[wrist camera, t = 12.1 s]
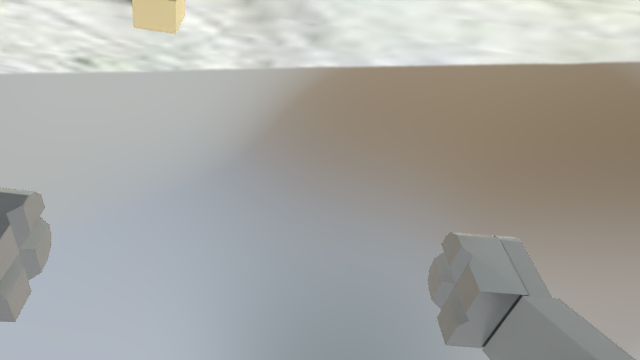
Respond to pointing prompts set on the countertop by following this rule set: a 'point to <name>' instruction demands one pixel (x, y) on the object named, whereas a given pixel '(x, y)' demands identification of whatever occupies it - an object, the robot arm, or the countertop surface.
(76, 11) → the countertop surface
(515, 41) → the countertop surface
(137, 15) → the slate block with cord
